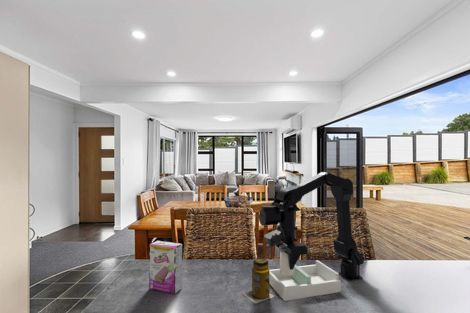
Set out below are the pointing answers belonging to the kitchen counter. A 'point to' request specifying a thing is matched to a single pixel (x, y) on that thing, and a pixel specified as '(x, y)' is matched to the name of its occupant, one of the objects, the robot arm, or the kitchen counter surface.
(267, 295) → the condiment
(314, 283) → the white tray
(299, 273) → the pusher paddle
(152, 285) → the candy bar box
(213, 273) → the kitchen counter surface
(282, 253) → the jar
